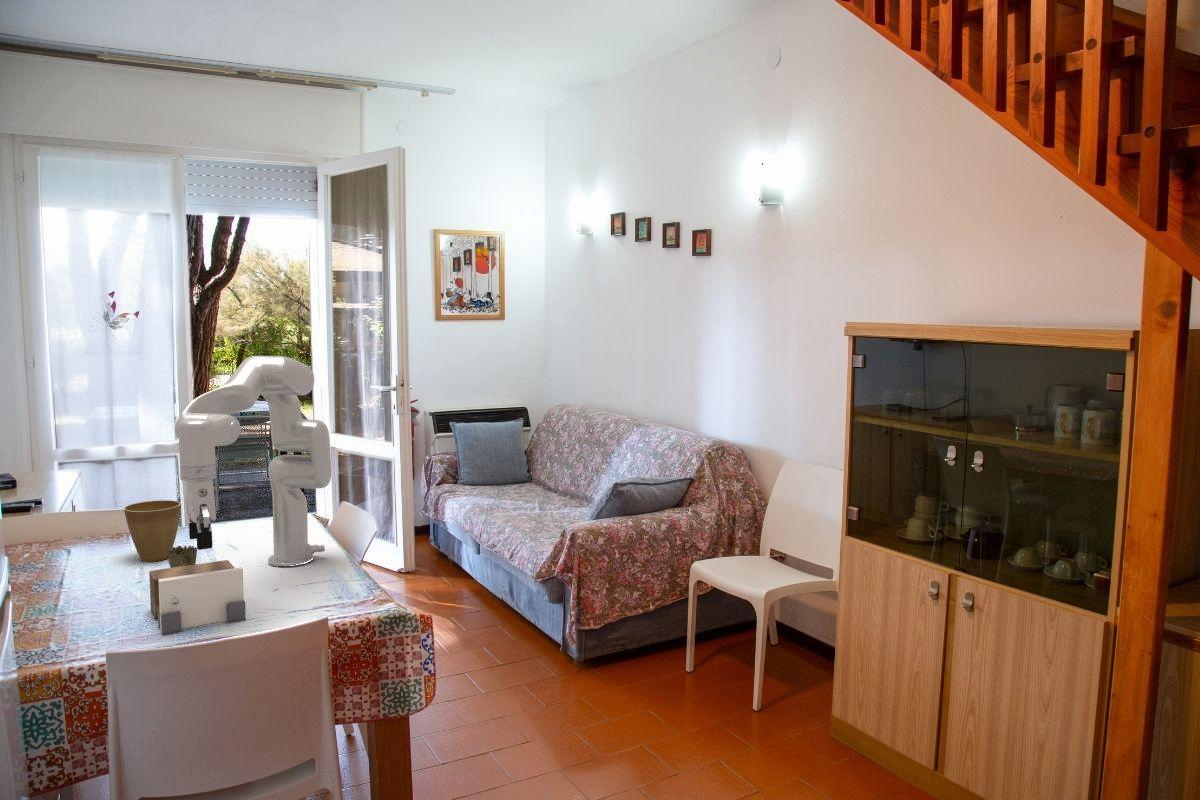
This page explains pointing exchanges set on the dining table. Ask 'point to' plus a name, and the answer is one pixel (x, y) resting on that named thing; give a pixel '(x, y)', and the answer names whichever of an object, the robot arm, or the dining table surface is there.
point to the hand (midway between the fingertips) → (200, 543)
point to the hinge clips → (173, 619)
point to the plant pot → (153, 527)
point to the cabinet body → (179, 572)
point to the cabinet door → (201, 595)
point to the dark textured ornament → (182, 556)
